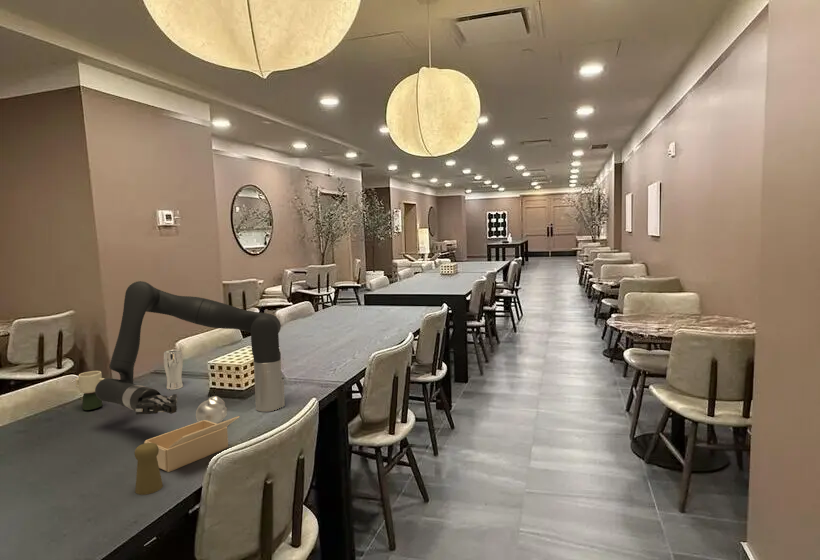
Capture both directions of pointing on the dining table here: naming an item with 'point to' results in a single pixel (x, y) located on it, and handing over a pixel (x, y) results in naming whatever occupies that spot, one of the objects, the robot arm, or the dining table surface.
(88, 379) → the trophy cup
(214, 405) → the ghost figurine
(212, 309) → the robot arm
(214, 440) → the carton
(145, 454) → the cork
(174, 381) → the beer glass
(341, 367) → the dining table surface
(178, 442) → the flap
